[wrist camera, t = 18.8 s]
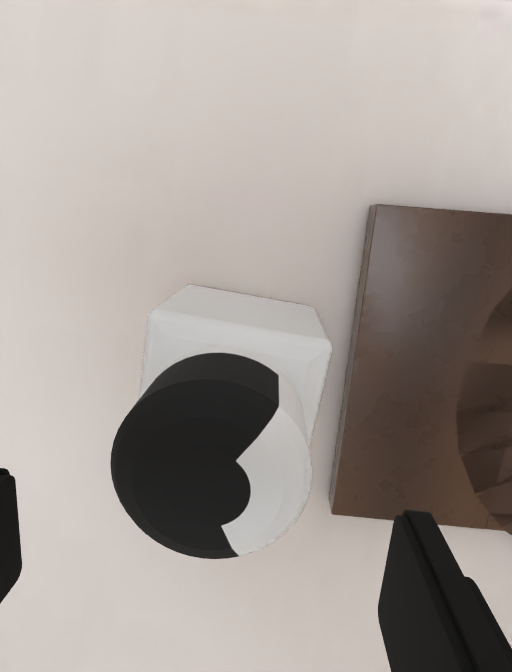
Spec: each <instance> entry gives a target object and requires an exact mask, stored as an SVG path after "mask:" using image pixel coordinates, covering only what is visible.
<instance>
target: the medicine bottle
mask: <svg viewBox="0 0 512 672" xmlns="http://www.w3.org/2000/svg"><path fill="white" fill-rule="evenodd" d="M331 354H332V344H331V342H330V340H329V337H328V335H327V333H326V331H325V329H324V326H323V324H322V322H321V320H320V318H319V315H318V313H317V311H316V310H315V308H314V307H311V306H306V305H301V304H295V303H290V302H284V301H279V300H273V299H268V298H262V297H257V296H251V295H245V294H240V293H234V292H229V291H223V290H218V289H212V288H207V287H201V286H196V285H187V286H185V287H184V288H183V289H181V290H180V291H179V292H177V293H176V294H174V295H173V296H172V297H170V298H169V299H167V300H166V301H165V302H163V303H162V304H160V305H159V306H158V307H156V308H155V309H154V310H152V311H151V312H150V313H149V315H148V319H147V329H146V338H145V347H144V356H143V366H142V375H141V384H140V393H139V400H138V402H137V403H136V404H135V406H134V407H133V408H132V410H131V411H130V412H129V414H128V415H127V416H126V417H125V419H124V421H123V422H122V424H121V426H120V427H119V429H118V432H117V434H116V437H115V439H114V443H113V447H112V452H111V474H112V480H113V484H114V487H115V491H116V493H117V495H118V498H119V500H120V502H121V504H122V505H123V507H124V509H125V510H126V512H127V513H128V515H129V516H130V517H131V518H132V520H133V521H134V522H135V523H136V525H137V526H138V527H139V528H140V529H141V530H142V531H143V532H145V533H146V534H147V535H148V536H149V537H151V538H152V539H153V540H155V541H156V542H158V543H160V544H161V545H163V546H165V547H167V548H169V549H171V550H174V551H176V552H178V553H182V554H185V555H188V556H193V557H199V558H208V559H223V558H232V557H237V556H242V555H245V554H248V553H251V552H254V551H256V550H258V549H260V548H262V547H265V546H267V545H268V544H270V543H272V542H273V541H275V540H277V539H278V538H279V537H280V536H282V535H283V534H284V533H285V532H286V531H287V530H288V529H289V528H290V527H291V526H292V525H293V524H294V523H295V522H296V520H297V519H298V517H299V516H300V514H301V513H302V511H303V509H304V506H305V504H306V502H307V500H308V496H309V493H310V489H311V481H312V464H311V457H310V450H309V448H310V443H311V439H312V435H313V430H314V426H315V422H316V418H317V413H318V409H319V405H320V401H321V396H322V392H323V388H324V383H325V379H326V375H327V371H328V366H329V362H330V358H331Z"/></svg>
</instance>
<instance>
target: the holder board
mask: <svg viewBox="0 0 512 672" xmlns="http://www.w3.org/2000/svg"><path fill="white" fill-rule="evenodd" d="M329 502H330V507H331V513H332V514H333V515H344V516H354V517H364V518H375V519H385V520H394V519H395V517H396V516H397V515H401V516H402V514H403V512H404V510H415V511H424V512H430V513H431V514H432V516H433V518H434V520H435V521H436V523H437V525H448V526H458V527H469V528H479V529H485V528H486V529H491V530H501V531H506V532H508V533H509V534H511V535H512V215H510V214H497V213H485V212H472V211H459V210H446V209H433V208H420V207H407V206H394V205H381V204H376V205H371V206H370V210H369V217H368V224H367V231H366V238H365V245H364V252H363V259H362V266H361V273H360V280H359V287H358V294H357V302H356V309H355V316H354V323H353V330H352V337H351V344H350V351H349V358H348V365H347V372H346V379H345V386H344V393H343V400H342V407H341V415H340V422H339V429H338V436H337V443H336V450H335V457H334V464H333V471H332V478H331V485H330V492H329Z"/></svg>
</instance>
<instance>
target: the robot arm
mask: <svg viewBox="0 0 512 672" xmlns="http://www.w3.org/2000/svg"><path fill="white" fill-rule="evenodd" d="M21 569H22V558H21V546H20V534H19V521H18V509H17V496H16V484H15V478H14V477H13V476H11V475H10V473H9V471H8V470H7V469H4V468H0V603H1V602H2V600H3V599H4V598H5V596H6V595H7V594H8V592H9V591H10V590H11V588H12V587H13V586H14V584H15V583H16V581H17V580H18V578H19V576H20V573H21ZM378 618H379V624H380V628H381V632H382V636H383V640H384V644H385V648H386V652H387V656H388V660H389V664H390V668H391V672H512V648H511V647H510V645H509V643H508V641H507V639H506V637H505V636H504V634H503V632H502V630H501V628H500V626H499V625H498V623H497V621H496V619H495V617H494V615H493V614H492V612H491V610H490V608H489V606H488V604H487V603H486V601H485V599H484V597H483V595H482V593H481V592H480V590H479V588H478V586H477V585H476V583H475V582H474V580H472V579H471V578H469V577H464V575H463V573H462V571H461V569H460V567H459V565H458V564H457V562H456V560H455V558H454V556H453V554H452V552H451V550H450V548H449V546H448V544H447V543H446V541H445V539H444V537H443V535H442V533H441V531H440V529H439V527H438V525H437V523H436V521H435V520H434V518H433V516H432V514H431V513H430V512H424V511H415V510H404V512H403V514H402V516H401V515H397V516H396V517H395V519H394V524H393V529H392V534H391V540H390V545H389V550H388V556H387V561H386V566H385V572H384V577H383V582H382V587H381V593H380V598H379V604H378Z"/></svg>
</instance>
